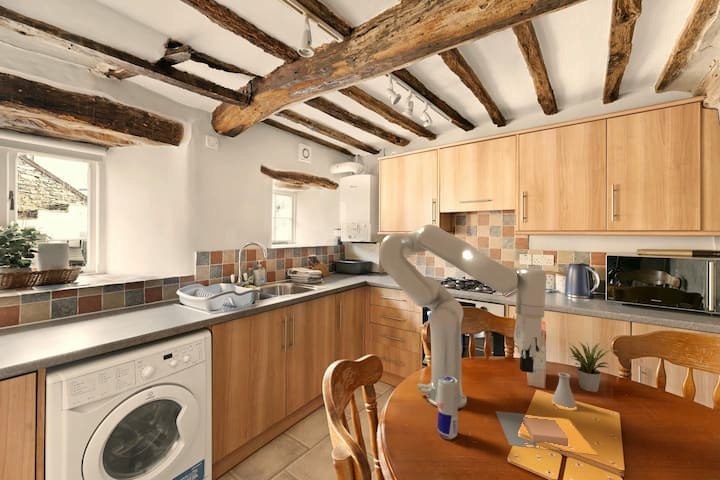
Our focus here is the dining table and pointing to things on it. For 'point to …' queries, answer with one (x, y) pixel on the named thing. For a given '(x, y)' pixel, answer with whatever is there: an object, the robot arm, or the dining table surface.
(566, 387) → the flask
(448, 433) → the beverage can
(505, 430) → the mat
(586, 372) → the house plant
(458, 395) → the robot arm
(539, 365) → the cracker box
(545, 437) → the tile
